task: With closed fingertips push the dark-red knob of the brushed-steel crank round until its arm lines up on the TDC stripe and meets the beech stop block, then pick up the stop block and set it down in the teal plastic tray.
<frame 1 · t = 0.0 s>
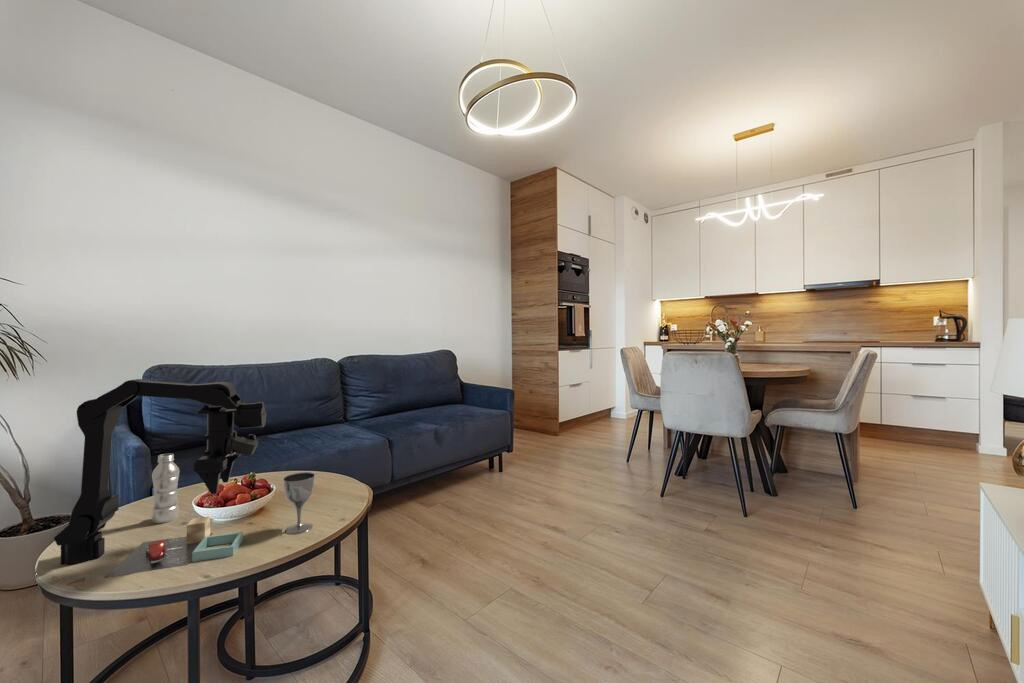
hand: (220, 487, 108), 15 cm above the table, fingers open, 9 cm apart
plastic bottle: (165, 522, 120), on the table
stop block: (198, 539, 108), point 1 cm above the table, touching bedplate
bedplate: (164, 556, 101), on the table
tray: (218, 553, 103), on the table
wine glass: (298, 529, 116), on the table
crank: (155, 547, 99), point 3 cm above the table, hinge at -65.0°
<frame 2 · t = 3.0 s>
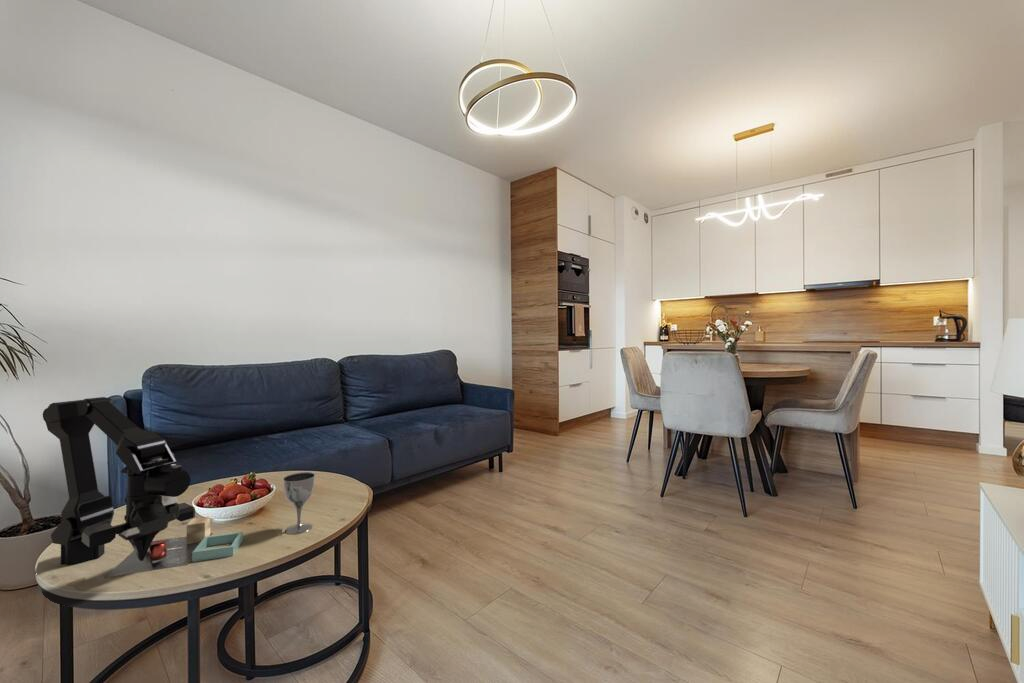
hand: (141, 560, 94), 3 cm above the table, fingers closed
crank: (156, 546, 99), point 3 cm above the table, hinge at -63.5°, touching gripper
everything else where it was.
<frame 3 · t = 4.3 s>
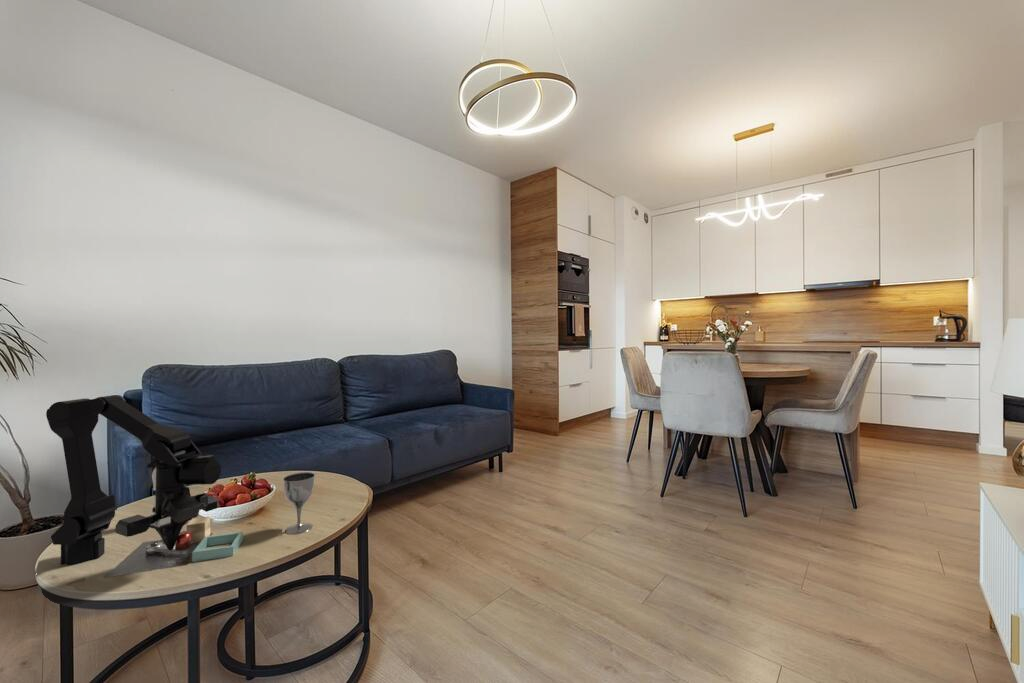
hand: (170, 549, 98), 3 cm above the table, fingers closed
crank: (168, 542, 101), point 3 cm above the table, hinge at -25.9°, touching gripper
everything else where it was.
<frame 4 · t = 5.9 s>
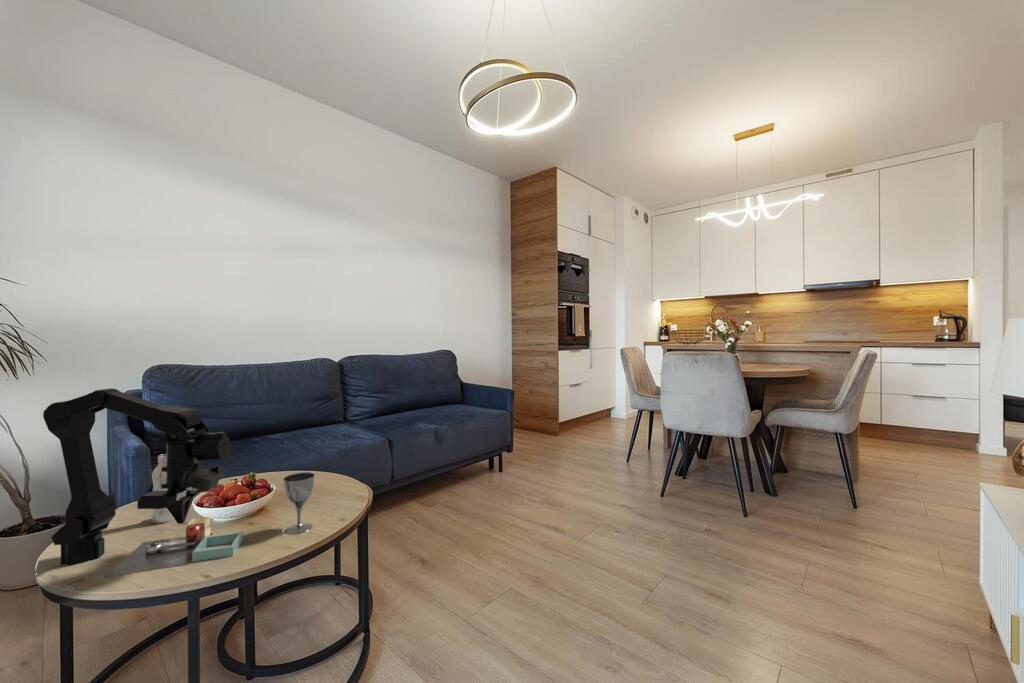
hand: (181, 522, 101), 8 cm above the table, fingers closed
crank: (173, 538, 103), point 3 cm above the table, hinge at 2.9°
everything else where it was.
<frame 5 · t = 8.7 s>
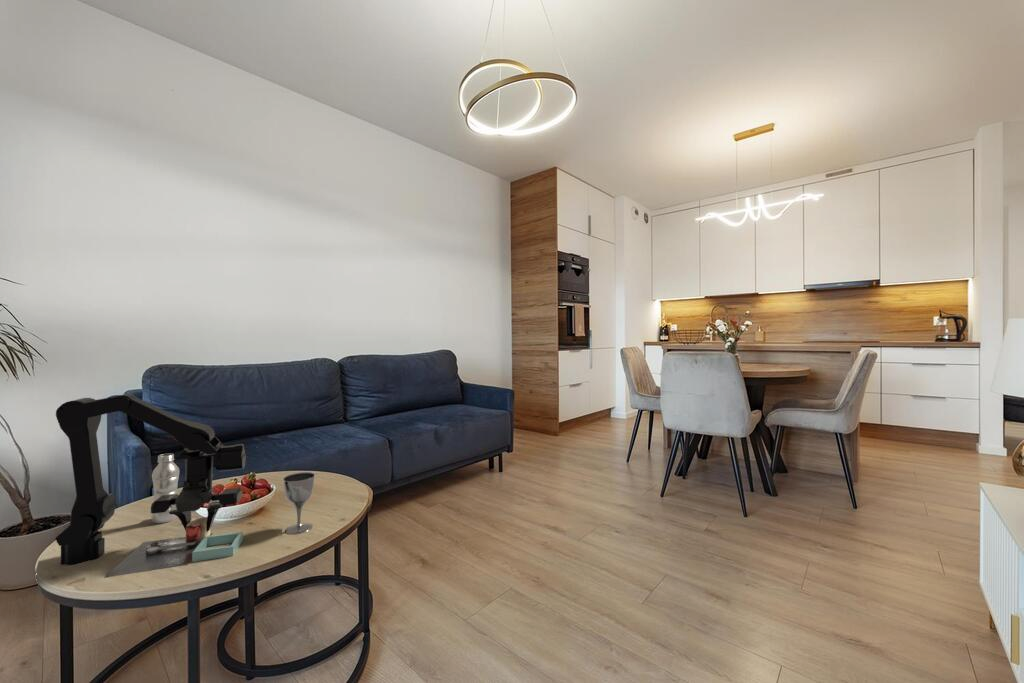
hand: (198, 531, 108), 3 cm above the table, fingers closed on stop block, 4 cm apart
stop block: (198, 539, 108), point 1 cm above the table, touching bedplate, gripper
everything else where it was.
when the fingers open (4 cm above the table, at t = 11.6 s): stop block drops 1 cm, resting on tray.
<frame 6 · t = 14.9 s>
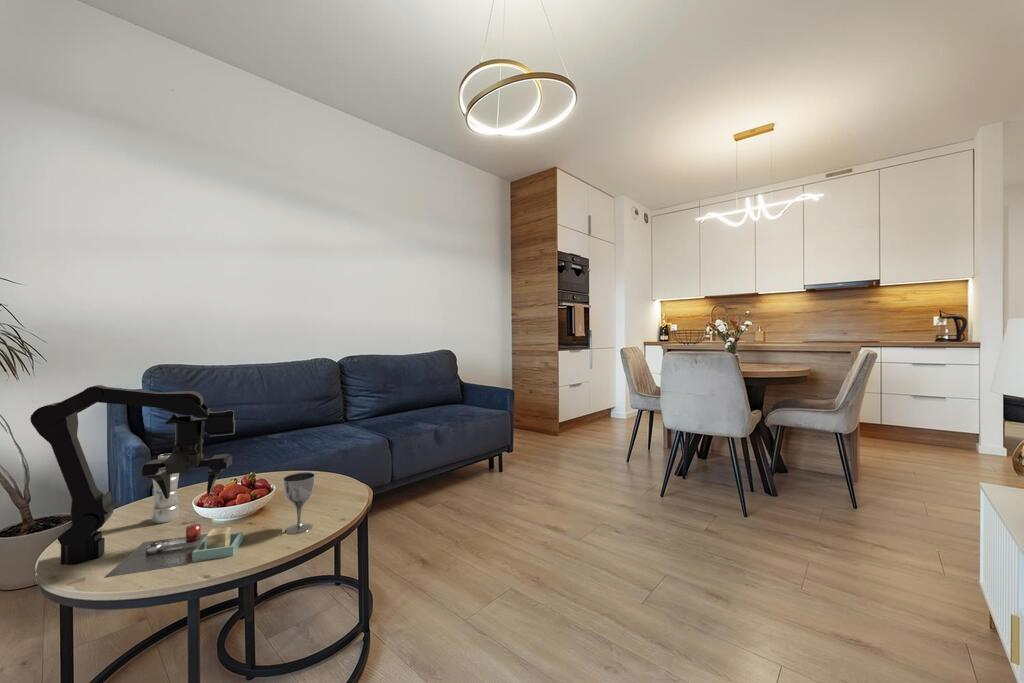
hand: (188, 496, 109), 12 cm above the table, fingers open, 9 cm apart
stop block: (218, 550, 103), point 1 cm above the table, touching tray
everything else where it was.
at the end: crank at +3° (first picture: -65°); stop block 0.1 cm off-centre on the tray, point 0.6 cm above the tray's base; the gripper is holding nothing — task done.
